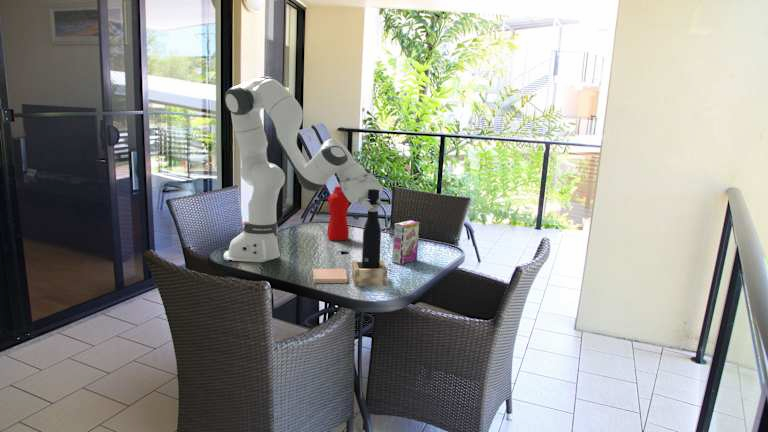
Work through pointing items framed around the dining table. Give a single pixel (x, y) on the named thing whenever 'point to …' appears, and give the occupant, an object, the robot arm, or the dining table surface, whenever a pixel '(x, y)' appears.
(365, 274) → the bottle collar
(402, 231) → the candy bar box
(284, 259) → the dining table surface
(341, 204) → the water bottle
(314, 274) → the terracotta tile
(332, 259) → the dining table surface
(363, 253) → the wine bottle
